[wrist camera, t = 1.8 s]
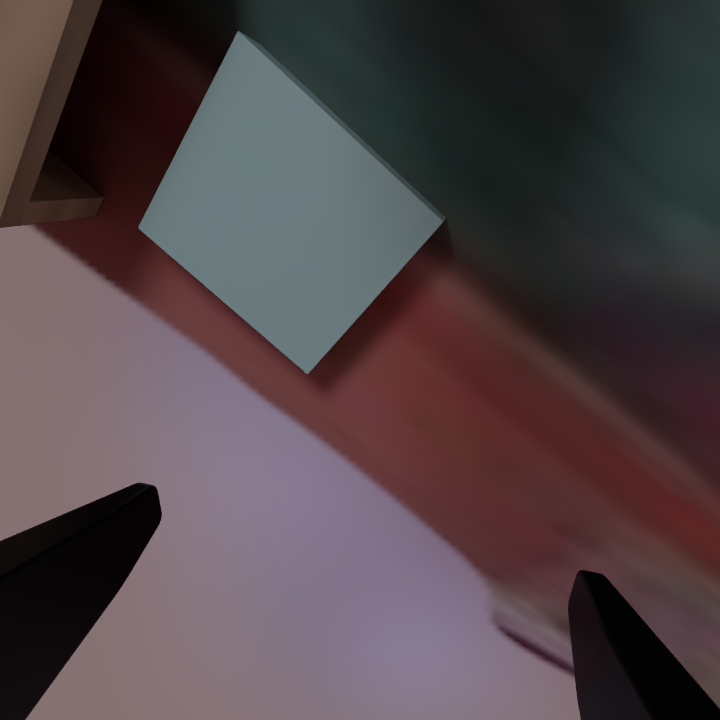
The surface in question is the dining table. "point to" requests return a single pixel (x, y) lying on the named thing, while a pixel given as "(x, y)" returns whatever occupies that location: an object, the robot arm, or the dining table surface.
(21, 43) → the low shelf
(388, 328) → the dining table surface
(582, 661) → the robot arm
